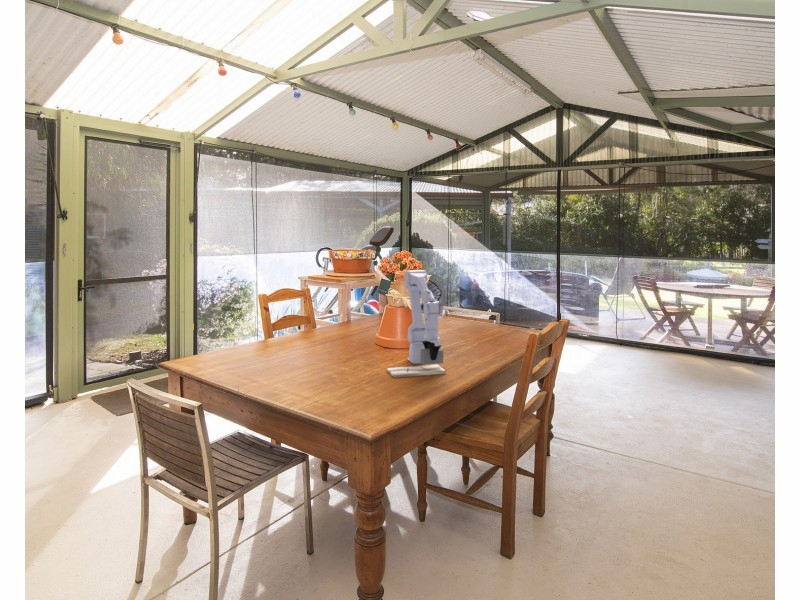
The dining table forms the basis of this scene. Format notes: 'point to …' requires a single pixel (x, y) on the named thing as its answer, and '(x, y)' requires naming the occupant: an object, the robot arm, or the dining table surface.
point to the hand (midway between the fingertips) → (431, 358)
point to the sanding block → (426, 357)
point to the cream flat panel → (416, 370)
